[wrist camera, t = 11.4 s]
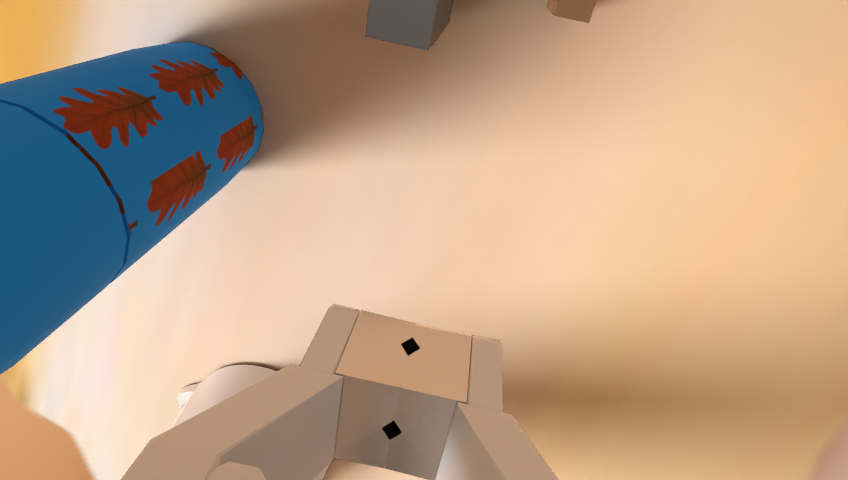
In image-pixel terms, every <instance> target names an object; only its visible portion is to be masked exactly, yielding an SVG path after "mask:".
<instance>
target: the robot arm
mask: <svg viewBox="0 0 848 480" xmlns="http://www.w3.org/2000/svg"><path fill="white" fill-rule="evenodd" d="M177 402H178V405H179V407H180V410H181V411H180V413H179V414H178V416H177V418H176V419H175V421H174V423H173V424H172V426H171V428H170V430H168V431H166V432H164V433H162V434H160V435H158V436H157V437H155V438H153V439H151V440H150V441H149V443H148V444H147V445H146V447H145V448H144V449H143V451H142V452H141V453H140V455H139V456H138V457H137V459H136V460H135V461H134V463H133V464H132V465H131V467H130V468H129V469H128V471H127V472H126V473H125V475H124V476H123V477H122V479H121V480H322V479H323V477H324V475H325V473H326V471H327V469H328V467H329V465H330V463H331V462H332V461H333V458H337V459H342V460H347V461H352V462H357V463H362V464H367V465H372V466H377V467H382V468H384V467H385V468H386V469H390V470H394V471H397V472H401V473H405V474H409V475H413V476H416V477H420V478H424V479H428V480H559V479H558V478H557V476H556V475H555V474H554V472H553V471H552V470H551V468H550V467H549V465H548V464H547V463H546V461H545V460H544V458H543V457H542V456H541V454H540V453H539V452H538V450H537V449H536V447H535V446H534V445H533V443H532V442H531V440H530V439H529V438H528V436H527V435H526V434H525V432H524V431H523V429H522V428H521V427H520V425H519V424H518V422H517V421H516V420H515V418H514V417H513V416H512V414H508V413H504V412H503V391H502V344H501V342H500V340H495V339H490V338H485V337H480V336H475V335H472V336H470V335H466V334H461V333H456V332H452V331H447V330H442V329H438V328H433V327H429V326H424V325H419V324H416V323H412V322H408V321H404V320H400V319H396V318H392V317H388V316H383V315H379V314H375V313H371V312H367V311H363V310H362V311H360V310H358V309H353V308H349V307H345V306H341V305H336V304H333V305H332V306H331V307H330V308H329V309H328V311H327V313H326V315H325V316H324V318H323V320H322V322H321V324H320V326H319V328H318V330H317V332H316V334H315V336H314V338H313V340H312V342H311V344H310V346H309V348H308V350H307V352H306V354H305V356H304V358H303V360H302V362H301V364H300V366H296V365H292V364H290V365H288V366H287V367H285V368H283V369H281V370H279V371H275V370H272V369H268V368H265V367H260V366H254V365H232V366H227V367H223V368H221V369H218V370H216V371H214V372H213V373H211V374H210V375H209V376H208V377H207V378H206V379H204V380H203V381H202V382H200V383H198V384H193V385H189V386H186V387H184V388H182V389H181V391H180V392H179V394H178V396H177Z"/></svg>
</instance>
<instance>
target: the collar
mask: <svg viewBox="0 0 848 480" xmlns="http://www.w3.org/2000/svg"><path fill="white" fill-rule="evenodd" d="M452 4H453V0H370V2H369V10H368V18H367V26H366V35H365V37H370V38H374V39H379V40H383V41H388V42H392V43H397V44H401V45H405V46H410V47H414V48H419V49H423V50H428V51H429V49H430V48H431V46H432V45H433V44H434V42H435V41H436V40H437V38H438V37H439V35H440V34H441V33H442V31H443V30H444V29H445V27H446V26H447V24H448V23H449V20H450V15H451V9H452Z"/></svg>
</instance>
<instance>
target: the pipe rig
mask: <svg viewBox="0 0 848 480" xmlns="http://www.w3.org/2000/svg"><path fill="white" fill-rule="evenodd" d="M595 3H596V0H549V2H548V6H547V8H548V9H549V10H550V11H551V12H552V13H553V15H555V16H559V17H564V18H568V19H573V20H577V21H582V22H586V23H589V21H590V18H591V15H592V12H593V9H594V6H595Z"/></svg>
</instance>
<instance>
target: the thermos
mask: <svg viewBox="0 0 848 480" xmlns="http://www.w3.org/2000/svg"><path fill="white" fill-rule="evenodd" d="M263 131H264V128H263V117H262V107H261V105H260V102H259V100H258V98H257V95H256V93H255V91H254V88H253V86H252V84H251V83H250V81H249V80H248V79H247V78H246V77H245V75H244V74H243V73H242V72H241V70H240V69H239V68H238V67H237V66H236V64H235V63H233V62H232V61H230V60H229V59H227V58H226V57H225V56H223V55H222V54H220V53H219V52H217V51H216V50H214V49H213V48H209V47H206V46H202V45H199V44H195V43H192V42H180V43H170V44H162V45H156V46H150V47H144V48H138V49H132V50H128V51H125V52H121V53H117V54H113V55H109V56H106V57H102V58H98V59H94V60H90V61H86V62H83V63H79V64H75V65H71V66H67V67H64V68H60V69H56V70H52V71H48V72H45V73H41V74H37V75H33V76H29V77H25V78H22V79H18V80H14V81H10V82H6V83H3V84H0V374H2V373H3V372H5V371H6V370H8V369H9V368H11V367H12V366H14V365H15V364H16V363H17V362H18V361H19V360H21V359H22V358H23V357H24V356H25V355H26V354H28V353H29V352H30V351H31V350H32V349H34V348H35V347H36V346H37V345H38V344H39V343H41V342H42V341H43V340H44V339H45V338H46V337H48V336H49V335H50V334H51V333H52V332H54V331H55V330H56V329H57V328H58V327H59V326H61V325H62V324H63V323H64V322H65V321H67V320H68V319H69V318H70V317H71V316H72V315H74V314H75V313H76V312H77V311H78V310H79V309H81V308H82V307H83V306H84V305H85V304H87V303H88V302H89V301H90V300H91V299H92V298H94V297H95V296H96V295H97V294H98V293H100V292H101V291H102V290H103V289H104V288H105V287H107V286H108V284H109V283H111V282H112V281H114V280H115V279H116V278H117V277H118V276H120V275H121V274H122V273H123V272H124V271H125V270H127V269H128V268H129V267H130V266H131V265H132V264H134V263H135V262H136V261H137V260H138V259H140V258H141V257H142V256H143V255H144V254H145V253H147V252H148V251H149V250H150V249H151V248H153V247H154V246H155V245H156V244H157V243H158V242H160V241H161V240H162V239H163V238H164V237H165V236H167V235H168V234H169V233H170V232H171V231H173V230H174V229H175V228H176V227H177V226H178V225H180V224H181V223H182V222H183V221H184V220H185V219H187V218H188V217H189V216H190V215H191V214H193V213H194V212H195V211H196V210H197V209H198V208H200V207H201V206H202V205H203V204H204V203H206V202H207V201H208V200H209V199H210V198H211V197H213V196H214V195H215V194H216V193H217V192H218V191H220V190H221V189H222V188H223V187H224V186H226V185H227V184H228V183H229V182H230V180H231V179H232V178H233V177H234V176H235V175H236V174H237V173H238V172H239V171H240V170H241V169H242V168H243V167H244V166H245V165H246V164H247V163H248V162H249V160H250V159H251V158H252V157H253V156H254V154H255V153H256V152H257V151H258V149H259V145H260V142H261V138H262V135H263Z"/></svg>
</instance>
